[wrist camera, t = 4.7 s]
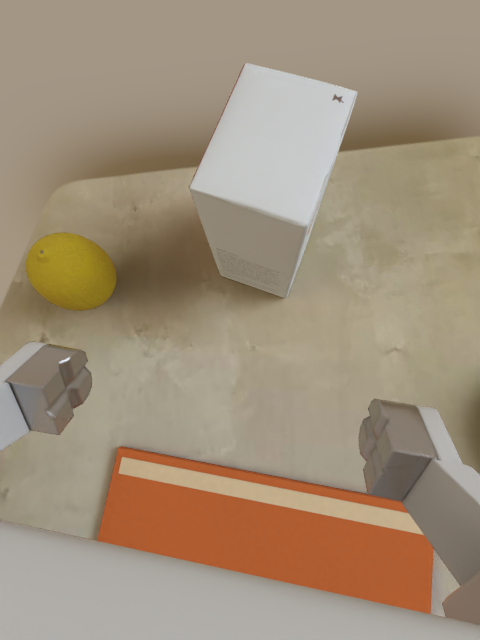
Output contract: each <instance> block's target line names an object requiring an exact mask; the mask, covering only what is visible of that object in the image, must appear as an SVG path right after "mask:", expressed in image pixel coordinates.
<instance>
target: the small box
mask: <svg viewBox="0 0 480 640" xmlns="http://www.w3.org/2000/svg"><path fill="white" fill-rule="evenodd" d="M356 97H357V91H353V90H350V89H346V88H343V87H340V86H336V85H333V84H329V83H326V82H322V81H318V80H313V79H310V78H306V77H302V76H298V75H294V74H290V73H286V72H281V71H278V70H274V69H270V68H265V67H261V66H256V65H252V64H249V63H245V64H244V66H243V68H242V70H241V72H240V74H239V77H238V79H237V81H236V84H235V86H234V88H233V90H232V92H231V95H230V97H229V99H228V101H227V104H226V106H225V108H224V110H223V113H222V115H221V117H220V119H219V121H218V124H217V126H216V128H215V130H214V132H213V135H212V137H211V139H210V141H209V143H208V146H207V148H206V151H205V152H204V155H203V157H202V159H201V162H200V164H199V166H198V168H197V170H196V173H195V175H194V177H193V179H192V182H191V184H190V186H189V190H190V192H191V195H192V198H193V201H194V203H195V206H196V209H197V212H198V215H199V218H200V220H201V223H202V226H203V229H204V231H205V234H206V237H207V240H208V243H209V246H210V248H211V251H212V254H213V257H214V259H215V262H216V265H217V268H218V271H219V274H220V275H221V276H222V277H226V278H229V279H231V280H234V281H237V282H240V283H243V284H246V285H249V286H252V287H254V288H257V289H260V290H263V291H266V292H268V293H271V294H274V295H277V296H280V297H283V298H287V296H288V294H289V291H290V289H291V286H292V284H293V281H294V278H295V276H296V273H297V270H298V268H299V265H300V262H301V259H302V257H303V254H304V251H305V248H306V246H307V243H308V240H309V237H310V234H311V231H312V228H313V225H314V222H315V219H316V216H317V213H318V210H319V207H320V204H321V201H322V198H323V195H324V192H325V189H326V186H327V183H328V180H329V177H330V174H331V171H332V169H333V166H334V163H335V160H336V157H337V154H338V151H339V148H340V144H341V142H342V139H343V136H344V133H345V130H346V127H347V124H348V121H349V118H350V116H351V113H352V109H353V106H354V103H355V100H356Z"/></svg>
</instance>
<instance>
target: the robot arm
mask: <svg viewBox="0 0 480 640" xmlns="http://www.w3.org/2000/svg"><path fill="white" fill-rule="evenodd" d="M87 362H88V359H87V356H86V353H85V352H84V351H82V350H78V349H73V348H68V347H63V346H58V345H52V344H45V343H40V342H35V341H32V342H29V343H26V344H25V345H24V346H23V347H22V348H20V349H19V350H18V351H17V352H16V353H14V354H13V355H12V356H11V357H10V358H9V359H7V360H6V361H5V362H4V363H3V364H1V365H0V451H1V450H3V449H4V448H6V447H7V446H9V445H11V444H12V443H14V442H15V441H17V440H18V439H20V438H22V437H23V436H25V435H26V434H28V433H29V432H30V430H31V431H37V432H44V433H50V434H56V435H60V434H61V432H62V431H63V430H64V428H65V427H66V426H67V424H68V423H69V422H70V420H71V419H72V418H73V416H74V413H73V409H74V408H76V407H78V406H79V405H81V404H83V403H84V401H85V400H86V398H87V397H88V395H89V393H90V390H91V387H92V376H91V372H90V371H89V370H88V369H87V368H86V367H85V364H86V363H87ZM368 410H369V414H370V416H369V417H367V418H365V419H363V421H362V424H361V427H360V432H359V449H360V454H361V455H362V457H363V458H364V459H365V460H366V461H367V462H366V465H365V467H364V469H363V472H364V477H365V483H366V488H367V493H368V494H369V495H374V496H378V497H383V498H388V499H392V500H397V501H401V502H402V504H403V506H404V507H405V509H406V510H407V511H408V513H409V514H410V516H411V517H412V519H413V520H414V521H415V523H416V524H417V526H418V527H419V528H420V530H421V531H422V533H423V534H424V535H425V537H426V538H427V540H428V541H429V542H430V544H431V545H432V547H433V548H434V550H435V551H436V552H437V554H438V555H439V557H440V558H441V559H442V561H443V562H444V564H445V565H446V566H447V568H448V569H449V571H450V572H451V574H452V575H453V576H454V578H455V579H456V581H457V582H458V583H459V585H460V587H459V588H458V589H457V590H455V591H454V592H453V593H452V594H451V595H449V596H448V597H447V598H446V599H445V600H444V602H443V603H442V605H443V608H444V612H445V615H446V617H441V616H437V615H432V614H428V613H423V612H419V611H414V610H410V609H405V608H401V607H396V606H391V605H387V604H382V603H378V602H373V601H369V600H364V599H360V598H355V597H350V596H346V595H341V594H337V593H332V592H328V591H323V590H319V589H314V588H309V587H305V586H300V585H296V584H291V583H287V582H282V581H278V580H273V579H269V578H264V577H259V576H255V575H250V574H246V573H241V572H237V571H232V570H228V569H223V568H218V567H214V566H209V565H205V564H200V563H196V562H191V561H187V560H182V559H178V558H173V557H168V556H164V555H159V554H155V553H150V552H146V551H141V550H137V549H132V548H127V547H123V546H118V545H114V544H109V543H105V542H100V541H96V540H91V539H86V538H82V537H77V536H73V535H68V534H64V533H59V532H55V531H50V530H45V529H41V528H36V527H32V526H27V525H23V524H18V523H13V522H9V521H4V520H0V640H480V474H478V473H477V472H476V471H475V470H474V469H473V468H472V467H471V466H469V465H464V464H463V463H462V461H461V459H460V457H459V455H458V453H457V451H456V448H455V446H454V444H453V442H452V440H451V438H450V436H449V434H448V432H447V429H446V427H445V425H444V423H443V421H442V419H441V417H440V415H439V412H438V411H437V410H436V409H435V408H432V407H426V406H419V405H411V404H405V403H399V402H393V401H386V400H380V399H374V400H373V401H371V403H370V405H369V408H368Z"/></svg>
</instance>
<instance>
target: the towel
mask: <svg viewBox="0 0 480 640" xmlns="http://www.w3.org/2000/svg"><path fill="white" fill-rule="evenodd" d="M97 541H100V542H105V543H109V544H114V545H118V546H123V547H127V548H132V549H137V550H141V551H146V552H150V553H155V554H159V555H164V556H168V557H173V558H178V559H182V560H187V561H191V562H196V563H200V564H205V565H209V566H214V567H218V568H223V569H228V570H232V571H237V572H241V573H246V574H250V575H255V576H259V577H264V578H269V579H273V580H278V581H282V582H287V583H291V584H296V585H300V586H305V587H309V588H314V589H319V590H323V591H328V592H332V593H337V594H341V595H346V596H350V597H355V598H360V599H364V600H369V601H373V602H378V603H382V604H387V605H391V606H396V607H401V608H405V609H410V610H414V611H419V612H423V613H428V614H430V611H431V589H432V567H433V547H432V545H431V544H430V542H429V541H428V540H427V538H426V537H425V535H424V534H423V533H422V531H421V530H420V528H419V527H418V526H417V524H416V523H415V521H414V520H413V519H412V517H411V516H410V514H409V513H408V511H407V510H406V509H405V507H404V506H403V504H402V502H401V501H397V500H392V499H388V498H383V497H378V496H374V495H369V494H364V493H359V492H354V491H349V490H344V489H338V488H333V487H328V486H323V485H318V484H313V483H308V482H302V481H297V480H292V479H287V478H282V477H277V476H272V475H266V474H261V473H256V472H251V471H246V470H241V469H236V468H230V467H225V466H220V465H215V464H210V463H205V462H199V461H194V460H189V459H184V458H179V457H174V456H169V455H163V454H158V453H153V452H148V451H143V450H138V449H133V448H127V447H122V446H121V447H119V448H118V452H117V456H116V461H115V465H114V469H113V474H112V478H111V482H110V487H109V491H108V496H107V500H106V504H105V509H104V513H103V517H102V522H101V526H100V531H99V535H98V539H97Z"/></svg>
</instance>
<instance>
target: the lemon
mask: <svg viewBox="0 0 480 640" xmlns="http://www.w3.org/2000/svg"><path fill="white" fill-rule="evenodd" d="M26 272H27V275H28V278H29V281H30V282H31V284H32V285H33V287H34V288H35V289H36V290H37V292H38V293H39V294H40V295H42V296H43V297H44V298H46V299H47V300H48V301H50V302H51V303H53V304H55V305H57V306H60V307H63V308H65V309H69V310H79V311H82V310H89V309H93V308H96V307H98V306H100V305H102V304H103V303H104V302H106V301H107V300H108V299H109V297H110V296H111V295H112V293H113V291H114V289H115V285H116V271H115V267H114V264H113V262H112V261H111V259H110V257H109V256H108V254H107V253H106V252H105V251H104V250H103V249H102V248H100V247H99V246H98V245H97V244H96V243H94V242H92V241H90V240H88V239H86V238H84V237H82V236H80V235H76V234H71V233H54V234H50V235H47V236H45V237H43V238H41V239H40V240H38V241H37V242H36V243H35V244H34V245H33V246H32V248H31V249H30V251H29V253H28V255H27V260H26Z"/></svg>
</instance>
